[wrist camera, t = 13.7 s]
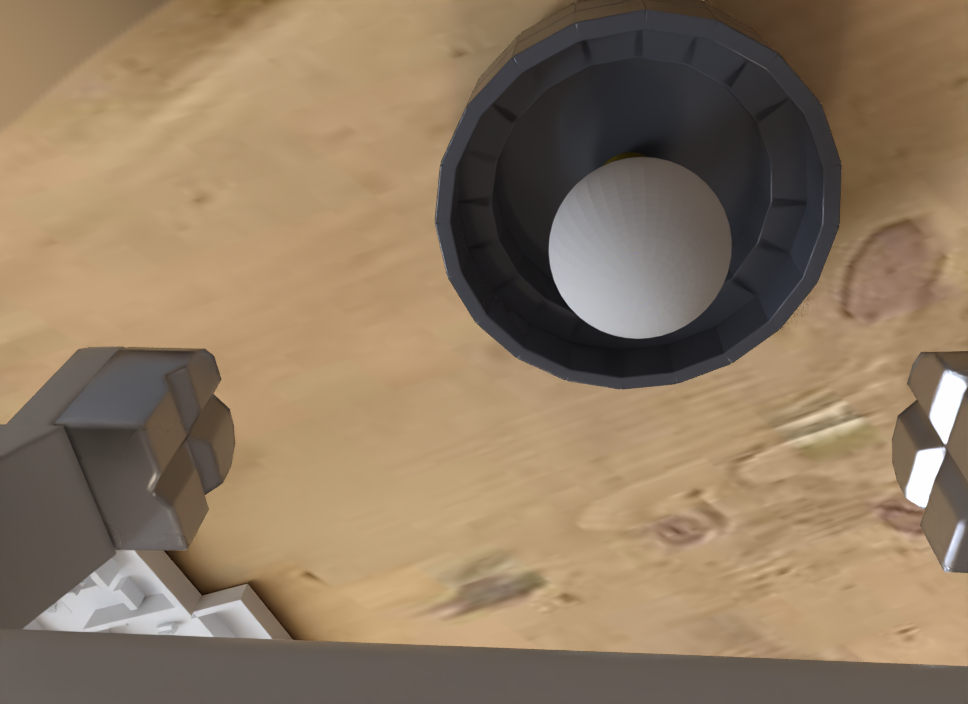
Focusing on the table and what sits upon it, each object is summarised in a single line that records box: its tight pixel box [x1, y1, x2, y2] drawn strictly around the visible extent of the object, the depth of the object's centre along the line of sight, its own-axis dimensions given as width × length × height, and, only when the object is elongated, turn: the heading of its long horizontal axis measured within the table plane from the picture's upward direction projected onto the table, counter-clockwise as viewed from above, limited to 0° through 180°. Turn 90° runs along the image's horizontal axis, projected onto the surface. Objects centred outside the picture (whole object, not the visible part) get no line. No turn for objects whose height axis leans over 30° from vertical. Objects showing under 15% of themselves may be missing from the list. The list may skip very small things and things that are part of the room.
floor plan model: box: [23, 550, 293, 640], centre depth 50 cm, size 19×25×2 cm
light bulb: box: [549, 152, 732, 339], centre depth 28 cm, size 6×6×10 cm
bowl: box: [435, 0, 842, 389], centre depth 31 cm, size 14×14×5 cm
